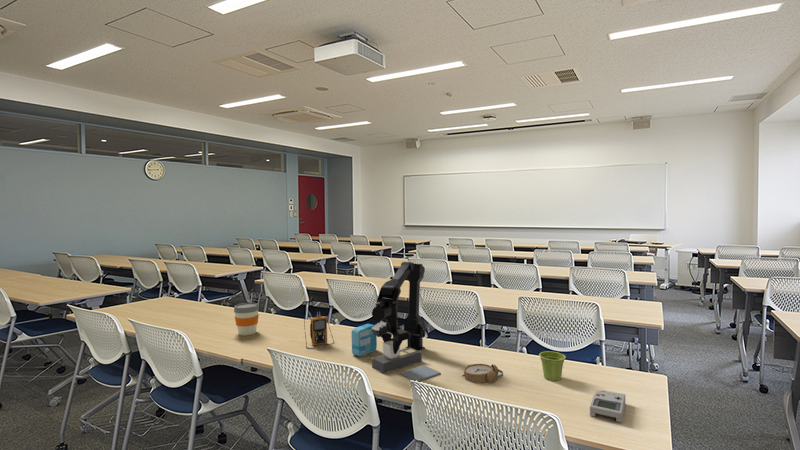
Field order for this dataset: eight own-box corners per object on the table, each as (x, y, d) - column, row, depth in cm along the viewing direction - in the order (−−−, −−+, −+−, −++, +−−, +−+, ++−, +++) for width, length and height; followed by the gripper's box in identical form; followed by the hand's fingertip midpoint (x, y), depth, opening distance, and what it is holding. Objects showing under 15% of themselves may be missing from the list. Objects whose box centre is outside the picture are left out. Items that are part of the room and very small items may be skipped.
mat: (424, 366, 172) (424, 365, 172) (440, 373, 164) (440, 372, 164) (401, 374, 165) (401, 372, 165) (417, 382, 157) (417, 380, 157)
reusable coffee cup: (264, 331, 226) (263, 304, 225) (245, 337, 216) (243, 309, 215) (249, 328, 233) (248, 301, 232) (229, 334, 222) (228, 306, 222)
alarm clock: (466, 363, 168) (503, 360, 162) (468, 375, 168) (506, 373, 162) (459, 373, 158) (499, 371, 152) (462, 386, 157) (502, 385, 152)
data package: (359, 357, 184) (358, 330, 184) (351, 355, 187) (351, 329, 186) (377, 349, 194) (376, 324, 193) (369, 348, 196) (369, 322, 196)
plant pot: (536, 372, 163) (536, 351, 163) (560, 372, 163) (560, 351, 163) (543, 383, 154) (543, 360, 154) (569, 383, 154) (569, 359, 153)
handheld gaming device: (625, 404, 137) (625, 393, 137) (621, 425, 125) (621, 412, 125) (596, 399, 142) (595, 388, 142) (589, 418, 130) (589, 405, 129)
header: (410, 356, 185) (409, 346, 184) (421, 361, 178) (421, 351, 178) (372, 367, 172) (372, 357, 172) (383, 373, 166) (383, 363, 166)
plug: (393, 361, 177) (392, 340, 176) (400, 364, 173) (399, 343, 172) (383, 364, 174) (382, 342, 173) (390, 367, 170) (389, 345, 169)
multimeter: (309, 352, 192) (308, 309, 192) (304, 345, 201) (302, 304, 200) (339, 346, 199) (338, 305, 198) (333, 340, 208) (331, 301, 207)
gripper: (362, 313, 175) (363, 350, 176) (387, 323, 160) (388, 363, 161) (383, 309, 182) (384, 344, 182) (410, 318, 167) (411, 356, 168)
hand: (391, 351), depth 173 cm, fingers closed on plug, 5 cm apart
